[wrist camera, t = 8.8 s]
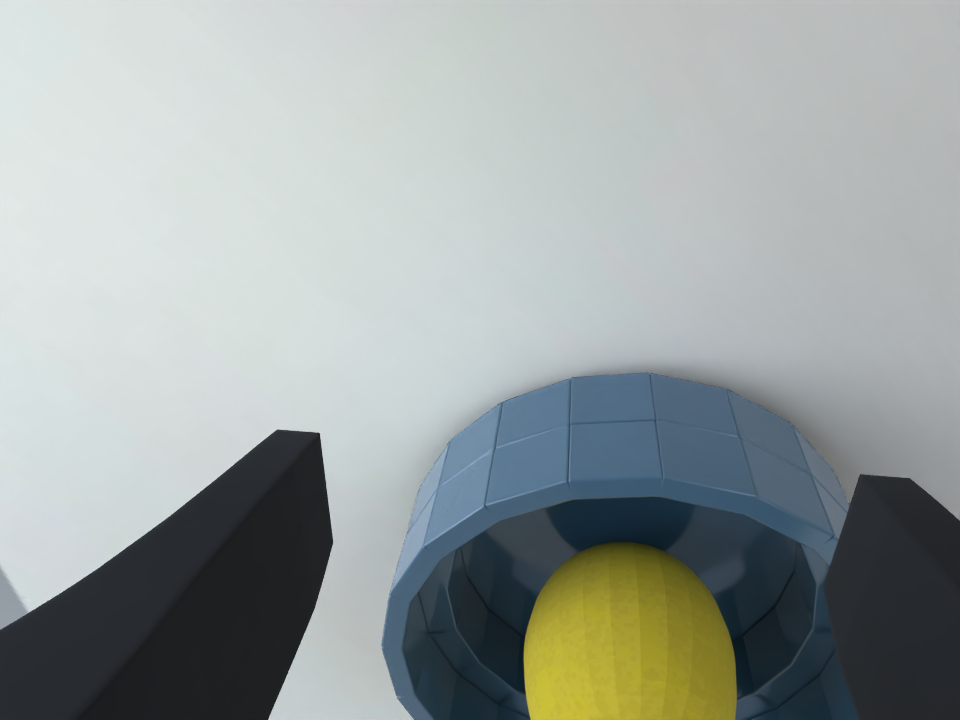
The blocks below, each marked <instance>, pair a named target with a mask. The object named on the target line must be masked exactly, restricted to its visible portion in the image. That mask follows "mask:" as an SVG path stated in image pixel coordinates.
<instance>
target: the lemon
mask: <svg viewBox="0 0 960 720" xmlns="http://www.w3.org/2000/svg"><path fill="white" fill-rule="evenodd" d="M524 676H525V691H526V699H527V705H528V710H529V715H530V719H531V720H735V715H736V701H737V689H736V665H735V656H734V650H733V646H732V641H731V638H730V635H729V631H728V628H727V626H726V624H725V621H724V619H723V617H722V615H721V612H720V610H719V608H718V605H717V603H716V601H715V599H714V597H713V596H712V594H711V592H710V591H709V590H708V588H707V587H706V586H705V584H704V583H703V582H702V581H701V580H700V579H699V578H698V577H697V575H696V574H695V573H694V572H693V571H692V570H691V569H690V568H689V567H688V566H686V565H685V564H684V563H682V562H681V561H679V560H678V559H676V558H675V557H673V556H672V555H670V554H668V553H667V552H665V551H662V550H660V549H657V548H655V547H652V546H650V545H646V544H640V543H634V542H610V543H604V544H599V545H594V546H592V547H590V548H587V549H585V550H583V551H580V552H579V553H577V554H575V555H574V556H572V557H571V558H570V559H568V560H567V561H566V562H564V563H563V564H562V565H560V566H559V567H558V568H557V569H556V570H555V572H554V573H553V574H552V576H551V577H550V578H549V579H548V581H547V582H546V583H545V585H544V586H543V588H542V589H541V591H540V593H539V595H538V597H537V599H536V602H535V605H534V608H533V611H532V614H531V617H530V620H529V624H528V627H527V632H526V636H525V644H524Z"/></svg>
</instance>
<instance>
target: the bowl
mask: <svg viewBox="0 0 960 720" xmlns="http://www.w3.org/2000/svg"><path fill="white" fill-rule="evenodd" d="M849 507H850V506H849V503H848V501H847V499H846V496H845V494H844V492H843V489H842V487H841V485H840V483H839V480H838V478H837V476H836V474H835V472H834V470H833V469H832V468H831V467H830V466H829V464H828V463H827V462H826V461H825V460H824V459H823V458H822V457H821V456H820V455H819V453H818V452H817V451H816V450H815V449H814V448H813V447H812V446H811V445H810V444H809V442H808V441H807V440H806V439H805V438H804V437H803V436H802V435H801V434H800V433H799V431H798V430H797V429H796V428H795V427H794V426H793V425H791V423H790V422H788V421H786V420H784V419H782V418H781V417H779V416H777V415H775V414H773V413H771V412H769V411H768V410H766V409H764V408H762V407H760V406H758V405H756V404H754V403H753V402H751V401H749V400H747V399H745V398H743V397H741V396H740V395H738V394H736V393H734V392H732V391H730V390H728V389H724V388H720V387H716V386H711V385H706V384H701V383H696V382H692V381H687V380H682V379H677V378H672V377H667V376H663V375H658V374H653V373H650V374H649V373H635V374H618V375H602V376H586V377H573V378H572V379H567V380H564V381H561V382H558V383H555V384H552V385H550V386H547V387H544V388H541V389H538V390H535V391H532V392H529V393H526V394H523V395H521V396H518V397H515V398H512V399H509V400H506V401H504V402H503V403H502V402H501V403H500V404H498V405H497V406H495V407H494V408H493V409H491V410H490V411H489V412H487V413H486V414H485V415H483V416H482V417H481V418H479V419H478V420H477V421H475V422H474V423H472V424H471V425H470V426H468V427H467V428H466V429H464V430H463V431H462V432H460V433H459V434H458V435H456V436H455V437H454V438H452V439H451V441H450V442H449V443H448V444H447V446H446V447H445V449H444V450H443V452H442V453H441V455H440V457H439V458H438V460H437V461H436V463H435V464H434V466H433V467H432V469H431V470H430V472H429V474H428V475H427V477H426V478H425V480H424V481H423V483H422V484H421V487H420V489H419V492H418V496H417V499H416V503H415V506H414V510H413V513H412V517H411V520H410V524H409V527H408V531H407V534H406V539H405V541H404V545H403V548H402V552H401V555H400V559H399V562H398V566H397V569H396V573H395V576H394V580H393V583H392V587H391V590H390V594H389V598H388V605H387V611H386V618H385V624H384V631H383V637H382V644H381V645H382V651H383V654H384V657H385V661H386V664H387V667H388V670H389V674H390V677H391V680H392V683H393V687H394V690H395V693H396V696H397V699H398V700H399V701H400V702H401V704H402V705H403V706H404V707H405V709H406V710H407V711H408V713H409V714H410V715H411V716H412V718H413V719H414V720H531V719H530V715H529V710H528V705H527V699H526V691H525V676H524V644H525V636H526V632H527V627H528V624H529V620H530V617H531V614H532V611H533V608H534V605H535V602H536V599H537V597H538V595H539V593H540V591H541V589H542V588H543V586H544V585H545V583H546V582H547V581H548V579H549V578H550V577H551V576H552V574H553V573H554V572H555V570H556V569H557V568H558V567H559V566H560V565H562V564H563V563H564V562H566V561H567V560H568V559H570V558H571V557H572V556H574V555H575V554H577V553H579V552H580V551H583V550H585V549H587V548H590V547H592V546H594V545H599V544H604V543H610V542H634V543H640V544H646V545H650V546H652V547H655V548H657V549H660V550H662V551H665V552H667V553H668V554H670V555H672V556H673V557H675V558H676V559H678V560H679V561H681V562H682V563H684V564H685V565H686V566H688V567H689V568H690V569H691V570H692V571H693V572H694V573H695V574H696V575H697V577H698V578H699V579H700V580H701V581H702V582H703V583H704V584H705V586H706V587H707V588H708V590H709V591H710V592H711V594H712V596H713V597H714V599H715V601H716V603H717V605H718V608H719V610H720V612H721V615H722V617H723V619H724V621H725V624H726V626H727V628H728V631H729V635H730V638H731V641H732V646H733V650H734V656H735V665H736V689H737V701H736V715H735V720H858V717H857V714H856V711H855V708H854V705H853V702H852V699H851V696H850V694H849V691H848V688H847V685H846V682H845V679H844V676H843V673H842V670H841V667H840V664H839V661H838V657H837V652H836V648H835V644H834V639H833V635H832V630H831V626H830V620H829V615H828V610H827V605H826V600H825V595H824V589H823V585H824V582H825V579H826V576H827V573H828V570H829V567H830V564H831V561H832V558H833V555H834V552H835V549H836V546H837V543H838V540H839V537H840V534H841V531H842V528H843V525H844V522H845V519H846V516H847V513H848V510H849Z"/></svg>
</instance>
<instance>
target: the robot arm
mask: <svg viewBox="0 0 960 720" xmlns="http://www.w3.org/2000/svg"><path fill="white" fill-rule="evenodd" d="M332 545H333V537H332V529H331V521H330V513H329V505H328V497H327V489H326V481H325V473H324V465H323V456H322V448H321V440H320V433H314V432H301V431H288V430H276V431H275V432H274V433H272V434H271V435H270V436H268V437H267V438H266V439H265V440H263V441H262V442H261V443H260V444H258V445H257V446H256V447H255V448H254V449H252V450H251V451H250V452H249V453H248V454H246V455H245V456H244V457H243V458H241V459H240V460H239V461H238V462H237V463H235V464H234V465H233V466H232V467H231V468H229V469H228V470H227V471H226V472H224V473H223V474H222V475H221V476H220V477H218V478H217V479H216V480H215V481H213V482H212V483H211V484H210V485H209V486H207V487H206V488H205V489H203V490H202V491H201V492H200V493H198V494H197V495H196V496H195V497H193V498H192V499H191V500H190V501H188V502H187V503H186V504H185V505H183V506H182V507H181V508H180V509H178V510H177V511H176V512H175V513H173V514H172V515H171V516H170V517H168V518H167V519H166V520H164V521H163V522H162V523H160V524H159V525H157V526H156V527H155V528H153V529H152V530H151V531H149V532H148V533H146V534H145V535H144V536H142V537H141V538H140V539H138V540H137V541H135V542H134V543H133V544H131V545H130V546H129V547H127V548H126V549H124V550H123V551H122V552H120V553H119V554H118V555H116V556H115V557H113V558H112V559H111V560H109V561H108V562H106V563H105V564H104V565H102V566H101V567H100V568H98V569H97V570H95V571H94V572H92V573H91V574H89V575H88V576H86V577H85V578H83V579H82V580H80V581H79V582H77V583H76V584H74V585H73V586H71V587H70V588H68V589H66V590H65V591H63V592H62V593H60V594H59V595H57V596H56V597H54V598H52V599H51V600H49V601H47V602H46V603H44V604H42V605H41V606H39V607H38V608H36V609H34V610H33V611H31V612H29V613H28V614H26V615H25V616H23V617H22V618H20V619H18V620H17V621H15V622H13V623H11V624H10V625H8V626H6V627H4V628H3V629H1V630H0V720H268V718H269V716H270V714H271V711H272V709H273V707H274V704H275V702H276V699H277V697H278V695H279V692H280V690H281V688H282V685H283V683H284V681H285V678H286V676H287V674H288V671H289V669H290V667H291V664H292V662H293V659H294V657H295V655H296V652H297V650H298V647H299V645H300V643H301V640H302V638H303V635H304V633H305V631H306V628H307V626H308V623H309V621H310V618H311V616H312V614H313V611H314V609H315V605H316V602H317V599H318V595H319V592H320V588H321V585H322V582H323V578H324V574H325V571H326V567H327V563H328V560H329V556H330V552H331V548H332ZM823 589H824V595H825V600H826V605H827V610H828V615H829V620H830V626H831V630H832V635H833V639H834V644H835V648H836V652H837V657H838V661H839V664H840V667H841V670H842V673H843V676H844V679H845V682H846V685H847V688H848V691H849V694H850V696H851V699H852V702H853V705H854V708H855V711H856V714H857V717H858V720H960V521H959V520H958V519H957V518H956V517H955V516H954V515H953V514H951V513H950V512H949V511H948V510H947V509H946V508H945V507H943V506H942V505H941V504H940V503H939V502H938V501H936V500H935V499H934V498H933V497H932V496H931V495H929V494H928V493H927V492H926V491H925V490H924V489H922V488H921V487H920V486H919V485H917V484H916V483H915V482H914V481H912V480H911V479H910V478H900V477H887V476H874V475H861V474H860V476H859V479H858V482H857V485H856V488H855V491H854V495H853V498H852V501H851V504H850V507H849V510H848V513H847V516H846V519H845V522H844V525H843V528H842V531H841V534H840V537H839V540H838V543H837V546H836V549H835V552H834V555H833V558H832V561H831V564H830V567H829V570H828V573H827V576H826V579H825V582H824V585H823Z"/></svg>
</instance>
